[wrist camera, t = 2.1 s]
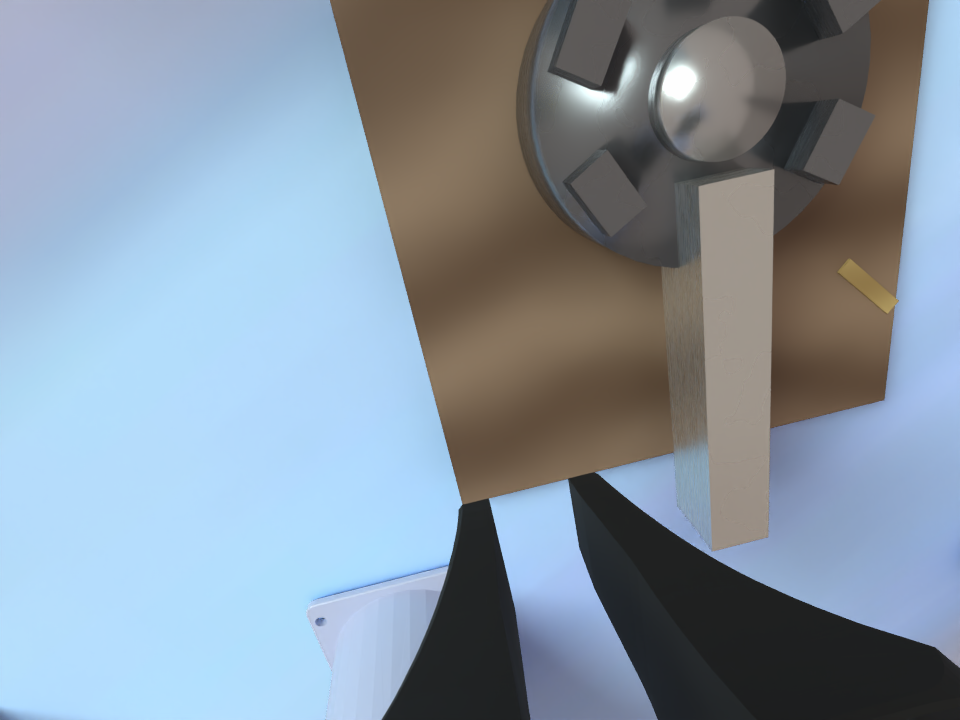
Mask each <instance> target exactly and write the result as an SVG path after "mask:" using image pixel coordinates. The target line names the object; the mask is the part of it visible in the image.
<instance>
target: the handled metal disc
mask: <svg viewBox="0 0 960 720" xmlns="http://www.w3.org/2000/svg"><path fill="white" fill-rule="evenodd" d="M880 1H881V0H548V1H547V2H546V4H545V5H544V7H543V9H542V11H541V13H540V14H539V16H538V18H537V20H536V22H535V24H534V26H533V28H532V31H531V34H530V36H529V39H528V42H527V44H526V47H525V50H524V54H523V58H522V62H521V66H520V70H519V77H518V84H517V92H516V120H517V130H518V138H519V142H520V147H521V151H522V156H523V158H524V161H525V164H526V167H527V170H528V173H529V175H530V177H531V179H532V181H533V183H534V185H535V187H536V189H537V191H538V192H539V194H540V195H541V197H542V198H543V199H544V201H545V202H546V204H547V205H548V207H549V208H550V209H551V210H552V211H553V212H554V213H555V214H556V215H557V216H558V218H559V219H560V220H562V221H563V222H564V223H565V224H566V225H568V226H569V227H570V228H571V229H573V230H574V231H576V232H577V233H579V234H581V235H582V236H584V237H586V238H587V239H589V240H591V241H593V242H595V243H597V244H599V245H602V246H604V247H606V248H608V249H610V250H612V251H614V252H616V253H618V254H620V255H623V256H625V257H627V258H630V259H632V260H635V261H637V262H641V263H645V264H649V265H653V266H660V267H661V273H662V288H663V303H664V317H665V332H666V347H667V362H668V377H669V392H670V407H671V422H672V437H673V451H674V466H675V481H676V496H677V506H678V508H679V509H680V510H681V511H682V513H683V514H684V515H685V517H686V518H687V519H688V521H689V522H690V523H691V525H692V526H693V527H694V529H695V530H696V531H697V532H698V534H699V535H700V536H701V538H702V539H703V540H704V542H705V543H706V544H707V546H708V547H709V548H710V550H711V551H716V550H720V549H724V548H728V547H732V546H736V545H740V544H743V543H747V542H751V541H755V540H759V539H763V538H767V537H768V521H769V462H770V402H771V342H772V283H773V235H775V234H776V233H777V232H779V231H780V230H782V229H783V228H784V227H786V226H787V225H788V224H789V223H790V222H791V221H792V220H793V219H794V218H795V217H796V216H797V215H799V214H800V213H801V212H802V211H803V210H804V208H805V207H806V206H807V205H808V204H809V203H810V202H811V201H812V199H813V198H814V197H815V196H816V195H817V194H818V192H819V191H820V190H821V188H822V187H823V185H824V184H831V185H839V184H840V182H841V180H842V178H843V177H844V175H845V173H846V171H847V169H848V167H849V165H850V163H851V161H852V160H853V158H854V156H855V154H856V152H857V150H858V148H859V146H860V144H861V142H862V141H863V139H864V137H865V135H866V133H867V131H868V129H869V127H870V125H871V124H872V122H873V120H874V118H875V116H876V115H874V114H872V113H869V112H867V111H865V110H863V109H861V107H862V103H863V99H864V95H865V91H866V86H867V80H868V72H869V65H870V45H871V32H870V21H869V10H871V9H872V8H873V7H874V6H875V5H876V4H877V3H879V2H880Z"/></svg>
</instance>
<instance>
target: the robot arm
mask: <svg viewBox="0 0 960 720" xmlns="http://www.w3.org/2000/svg"><path fill="white" fill-rule="evenodd" d="M568 481H569V487H570V493H571V499H572V505H573V512H574V518H575V524H576V530H577V536H578V542H579V548H580V551H581V553H582V556H583V559H584V562H585V564H586V567H587V570H588V573H589V575H590V578H591V580H592V583H593V586H594V588H595V590H596V592H597V595H598V597H599V599H600V601H601V603H602V605H603V607H604V609H605V611H606V613H607V615H608V617H609V619H610V621H611V623H612V625H613V626H614V628H615V630H616V632H617V634H618V636H619V638H620V640H621V642H622V644H623V646H624V648H625V650H626V652H627V654H628V656H629V658H630V660H631V662H632V664H633V666H634V668H635V670H636V672H637V674H638V676H639V678H640V680H641V682H642V684H643V686H644V688H645V691H646V693H647V695H648V697H649V699H650V702H651V704H652V706H653V709H654V711H655V714H656V716H657V719H658V720H960V668H959V667H958V666H957V665H955V664H954V663H953V662H952V661H951V660H949V659H948V658H947V657H946V656H945V655H943V654H942V653H941V652H940V651H939V650H937V649H936V648H935V647H932V646H929V645H926V644H923V643H920V642H916V641H913V640H910V639H907V638H904V637H900V636H897V635H894V634H891V633H888V632H885V631H881V630H878V629H875V628H872V627H869V626H865V625H863V624H860V623H857V622H854V621H851V620H849V619H846V618H843V617H841V616H838V615H835V614H833V613H830V612H827V611H825V610H822V609H819V608H817V607H814V606H812V605H810V604H807V603H805V602H802V601H800V600H797V599H795V598H793V597H791V596H788V595H786V594H784V593H782V592H779V591H777V590H775V589H773V588H771V587H768V586H766V585H764V584H762V583H760V582H757V581H755V580H753V579H751V578H749V577H747V576H745V575H743V574H741V573H739V572H737V571H736V570H734V569H732V568H730V567H728V566H726V565H725V564H723V563H721V562H719V561H717V560H716V559H714V558H712V557H710V556H709V555H707V554H705V553H704V552H702V551H701V550H699V549H697V548H696V547H694V546H693V545H691V544H689V543H688V542H686V541H685V540H683V539H682V538H680V537H679V536H677V535H676V534H674V533H673V532H671V531H670V530H668V529H667V528H665V527H664V526H663V525H661V524H660V523H659V522H657V521H656V520H654V519H653V518H652V517H650V516H649V515H648V514H646V513H645V512H643V511H642V510H641V509H640V508H638V507H637V506H636V505H634V504H633V503H632V502H631V501H629V500H628V499H627V498H626V497H624V496H623V495H622V494H621V493H619V492H618V491H617V490H616V489H615V488H613V487H612V486H611V485H610V484H609V483H608V482H606V481H605V480H604V479H603V478H602V477H601V476H599V475H598V474H596V473H595V472H592V473H588V474H584V475H580V476H576V477H572V478H568ZM306 615H307V618H308V620H309V622H310V625H311V627H312V629H313V631H314V633H315V636H316V638H317V640H318V642H319V644H320V647H321V649H322V651H323V653H324V655H325V658H326V660H327V662H328V664H329V667H330V669H331V671H332V676H331V683H330V690H329V697H328V704H327V711H326V718H325V720H530V714H529V708H528V701H527V693H526V686H525V679H524V671H523V664H522V657H521V649H520V642H519V635H518V628H517V620H516V613H515V607H514V603H513V599H512V595H511V590H510V586H509V582H508V578H507V573H506V569H505V565H504V561H503V556H502V552H501V548H500V544H499V540H498V535H497V531H496V527H495V523H494V519H493V515H492V510H491V506H490V502H489V498H488V499H483V500H479V501H475V502H471V503H467V504H463V505H462V506H461V508H460V509H459V516H458V525H457V532H456V537H455V542H454V547H453V551H452V555H451V559H450V563H449V566H446V567H442V568H438V569H434V570H430V571H426V572H422V573H418V574H414V575H410V576H407V577H403V578H399V579H395V580H391V581H387V582H383V583H379V584H375V585H371V586H367V587H363V588H359V589H355V590H351V591H347V592H343V593H340V594H336V595H332V596H328V597H324V598H320V599H316V600H313V601H311V602H310V603H309V604H308V607H307V611H306ZM319 618H325V619H319Z"/></svg>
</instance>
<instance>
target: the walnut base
mask: <svg viewBox="0 0 960 720" xmlns="http://www.w3.org/2000/svg"><path fill="white" fill-rule="evenodd" d="M547 1H548V0H330V3H331V6H332V10H333V14H334V18H335V22H336V25H337V29H338V33H339V37H340V41H341V44H342V48H343V52H344V56H345V60H346V63H347V67H348V71H349V75H350V79H351V82H352V86H353V90H354V94H355V98H356V101H357V105H358V109H359V113H360V116H361V120H362V124H363V128H364V132H365V135H366V139H367V143H368V147H369V151H370V154H371V158H372V162H373V166H374V170H375V173H376V177H377V181H378V185H379V189H380V192H381V196H382V200H383V204H384V208H385V211H386V215H387V219H388V223H389V227H390V230H391V234H392V238H393V242H394V246H395V249H396V253H397V257H398V261H399V265H400V268H401V272H402V276H403V280H404V284H405V287H406V291H407V295H408V299H409V303H410V306H411V310H412V314H413V318H414V322H415V325H416V329H417V333H418V337H419V341H420V344H421V348H422V352H423V356H424V359H425V363H426V367H427V371H428V375H429V378H430V382H431V386H432V390H433V394H434V397H435V401H436V405H437V409H438V413H439V416H440V420H441V424H442V428H443V432H444V435H445V439H446V443H447V447H448V451H449V454H450V458H451V462H452V466H453V470H454V473H455V477H456V481H457V485H458V489H459V492H460V496H461V500H462V504H467V503H471V502H475V501H479V500H483V499H488V498H492V497H496V496H500V495H504V494H508V493H512V492H516V491H520V490H524V489H529V488H533V487H537V486H541V485H545V484H549V483H553V482H557V481H561V480H565V479H568V478H572V477H576V476H580V475H584V474H588V473H592V472H597V471H601V470H605V469H609V468H613V467H617V466H621V465H625V464H629V463H633V462H637V461H641V460H645V459H649V458H653V457H657V456H661V455H665V454H669V453H673V452H674V451H673V437H672V422H671V407H670V392H669V377H668V362H667V347H666V332H665V317H664V303H663V288H662V273H661V267H660V266H653V265H649V264H645V263H641V262H637V261H635V260H632V259H630V258H627V257H625V256H623V255H620V254H618V253H616V252H614V251H612V250H610V249H608V248H606V247H604V246H602V245H599V244H597V243H595V242H593V241H591V240H589V239H587V238H586V237H584V236H582V235H581V234H579V233H577V232H576V231H574V230H573V229H571V228H570V227H569V226H568V225H566V224H565V223H564V222H563V221H562V220H560V219H559V218H558V216H557V215H556V214H555V213H554V212H553V211H552V210H551V209H550V208H549V207H548V205H547V204H546V202H545V201H544V199H543V198H542V197H541V195H540V194H539V192H538V191H537V189H536V187H535V185H534V183H533V181H532V179H531V177H530V175H529V173H528V170H527V167H526V164H525V161H524V158H523V156H522V151H521V147H520V142H519V138H518V130H517V120H516V92H517V84H518V77H519V70H520V66H521V62H522V58H523V54H524V50H525V47H526V44H527V42H528V39H529V36H530V34H531V31H532V28H533V26H534V24H535V22H536V20H537V18H538V16H539V14H540V13H541V11H542V9H543V7H544V5H545V4H546V2H547ZM928 4H929V0H881V1H880V2H879V3H877V4H876V5H875V6H874V7H873V8H872V9H871V10H869V21H870V32H871V45H870V65H869V72H868V80H867V86H866V91H865V95H864V99H863V103H862V107H861V109H863V110H865V111H867V112H869V113H872V114H874V115H876V116H875V118H874V120H873V122H872V124H871V125H870V127H869V129H868V131H867V133H866V135H865V137H864V139H863V141H862V142H861V144H860V146H859V148H858V150H857V152H856V154H855V156H854V158H853V160H852V161H851V163H850V165H849V167H848V169H847V171H846V173H845V175H844V177H843V178H842V180H841V182H840V184H839V185H831V184H824V185H823V187H822V188H821V190H820V191H819V192H818V194H817V195H816V196H815V197H814V198H813V199H812V201H811V202H810V203H809V204H808V205H807V206H806V207H805V208H804V210H803V211H802V212H801V213H800V214H799V215H797V216H796V217H795V218H794V219H793V220H792V221H791V222H790V223H789V224H788V225H787V226H786V227H784V228H783V229H782V230H780V231H779V232H777V233H776V234H775V235H773V283H772V342H771V402H770V428H774V427H778V426H782V425H786V424H790V423H794V422H798V421H802V420H806V419H810V418H814V417H818V416H822V415H826V414H830V413H834V412H838V411H842V410H846V409H850V408H854V407H858V406H862V405H866V404H870V403H874V402H878V401H882V400H884V398H885V389H886V380H887V371H888V362H889V353H890V344H891V335H892V326H893V317H894V308H895V305H896V304H897V302H898V300H897V299H896V290H897V282H898V273H899V264H900V255H901V246H902V237H903V228H904V219H905V210H906V201H907V192H908V183H909V174H910V165H911V156H912V147H913V138H914V129H915V121H916V112H917V103H918V94H919V85H920V76H921V67H922V58H923V49H924V40H925V31H926V22H927V13H928Z"/></svg>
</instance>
